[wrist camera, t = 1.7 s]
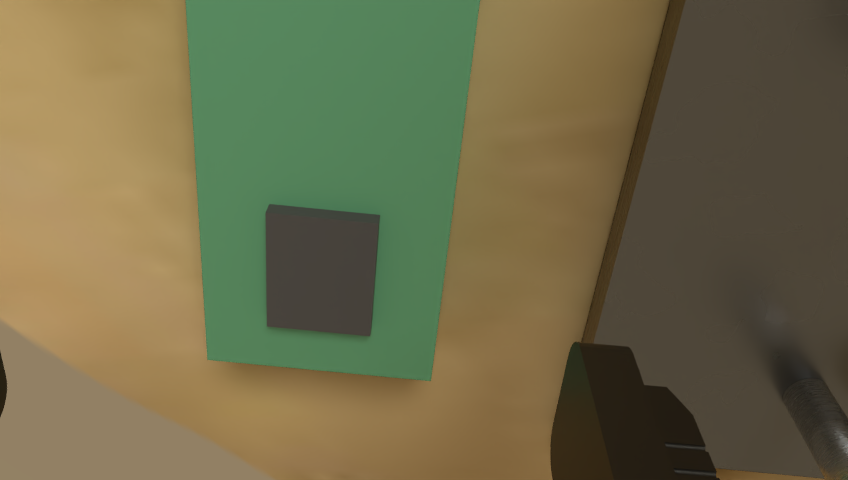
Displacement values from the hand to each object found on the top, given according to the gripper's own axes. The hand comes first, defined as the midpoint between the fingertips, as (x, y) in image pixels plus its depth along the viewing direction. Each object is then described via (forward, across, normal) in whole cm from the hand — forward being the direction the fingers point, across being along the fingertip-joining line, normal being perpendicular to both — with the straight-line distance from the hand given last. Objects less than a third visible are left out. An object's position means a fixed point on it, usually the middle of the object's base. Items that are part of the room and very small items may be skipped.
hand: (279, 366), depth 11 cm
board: (+9, 0, -1) cm, 9 cm away
